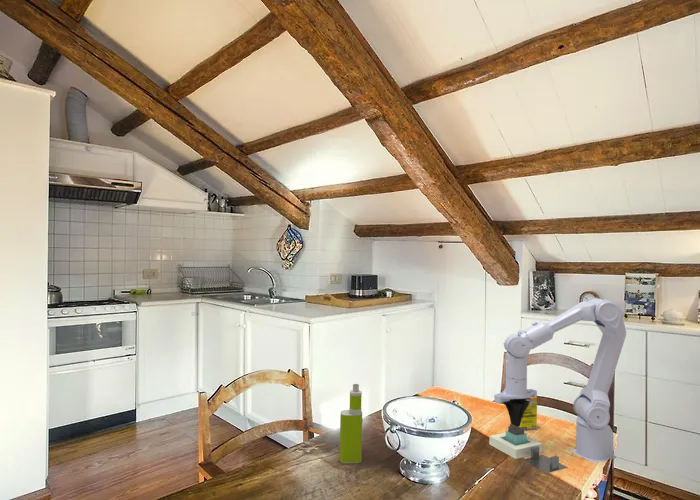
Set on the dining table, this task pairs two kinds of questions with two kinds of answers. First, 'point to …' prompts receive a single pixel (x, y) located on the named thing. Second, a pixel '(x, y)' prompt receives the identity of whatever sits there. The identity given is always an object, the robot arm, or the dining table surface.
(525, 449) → the port
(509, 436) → the plug
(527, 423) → the supplement box
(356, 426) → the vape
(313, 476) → the dining table surface
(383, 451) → the dining table surface
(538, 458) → the grey socket plate
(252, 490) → the dining table surface
